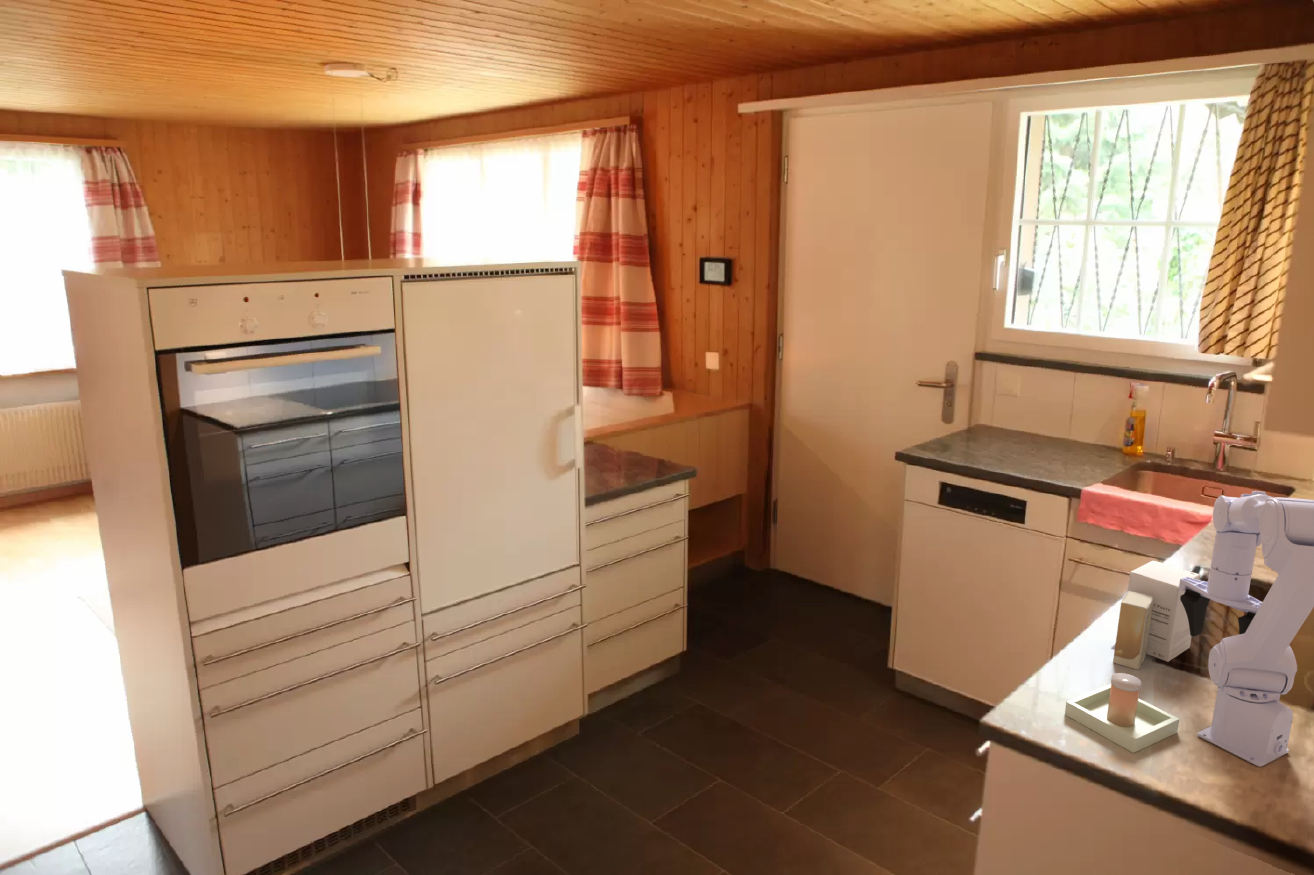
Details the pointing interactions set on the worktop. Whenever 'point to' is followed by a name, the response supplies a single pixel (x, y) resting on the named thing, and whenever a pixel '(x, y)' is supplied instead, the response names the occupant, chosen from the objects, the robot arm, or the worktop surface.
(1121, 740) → the tray
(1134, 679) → the shaker
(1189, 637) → the supplement box
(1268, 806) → the worktop surface
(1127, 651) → the skincare box
